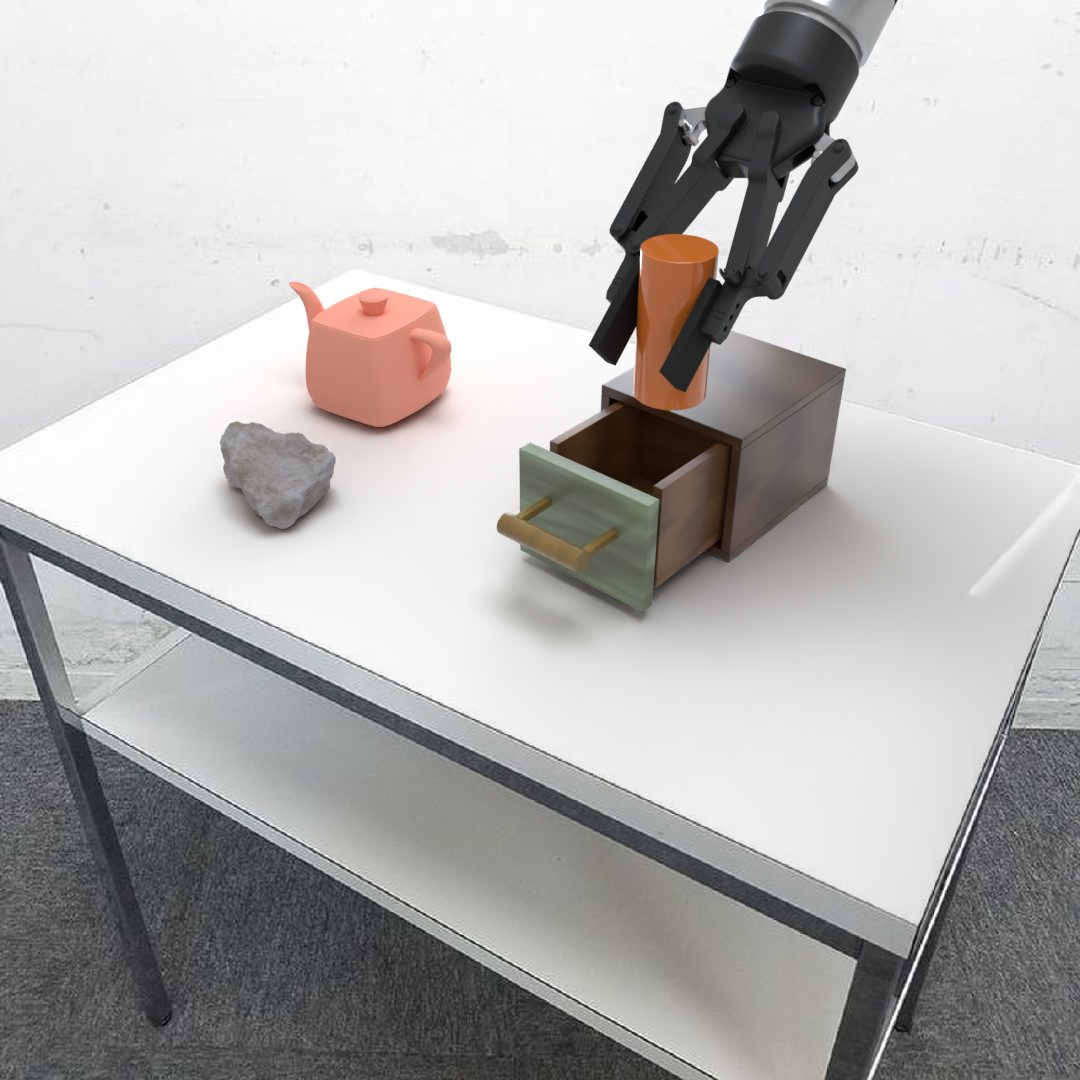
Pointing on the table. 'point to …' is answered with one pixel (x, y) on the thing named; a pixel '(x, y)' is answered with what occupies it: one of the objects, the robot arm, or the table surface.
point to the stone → (276, 471)
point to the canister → (669, 314)
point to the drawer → (621, 501)
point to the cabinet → (759, 430)
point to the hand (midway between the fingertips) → (636, 367)
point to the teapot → (374, 354)
